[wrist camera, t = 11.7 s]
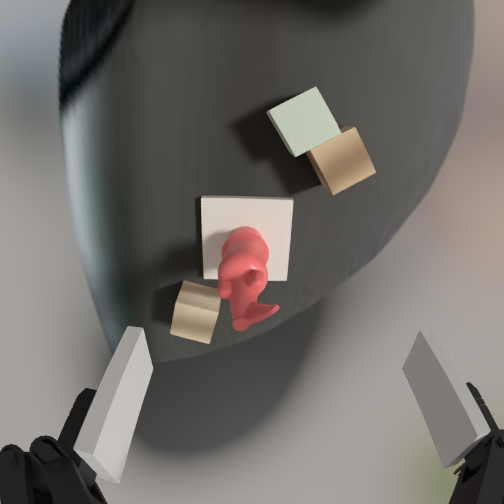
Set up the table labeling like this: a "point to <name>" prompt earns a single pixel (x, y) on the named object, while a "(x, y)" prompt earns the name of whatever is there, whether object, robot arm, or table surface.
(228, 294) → the figurine
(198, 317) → the maple block
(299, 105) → the sage block
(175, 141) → the table surface
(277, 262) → the coaster
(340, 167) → the oak block
